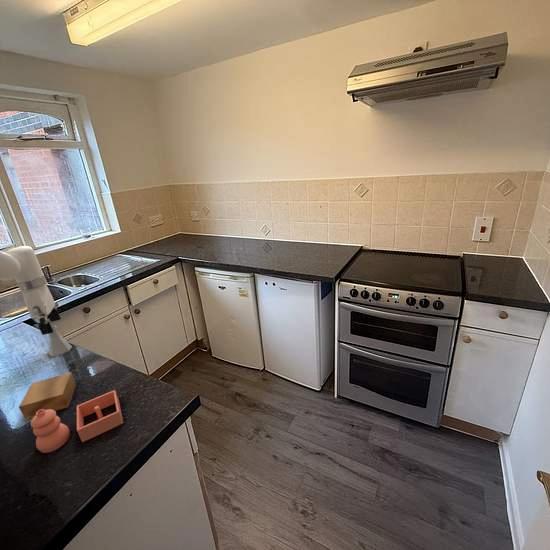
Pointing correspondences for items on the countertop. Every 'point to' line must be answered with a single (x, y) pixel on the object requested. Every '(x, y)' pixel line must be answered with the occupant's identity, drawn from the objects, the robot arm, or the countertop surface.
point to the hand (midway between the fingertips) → (52, 326)
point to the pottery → (57, 434)
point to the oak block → (48, 395)
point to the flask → (58, 343)
